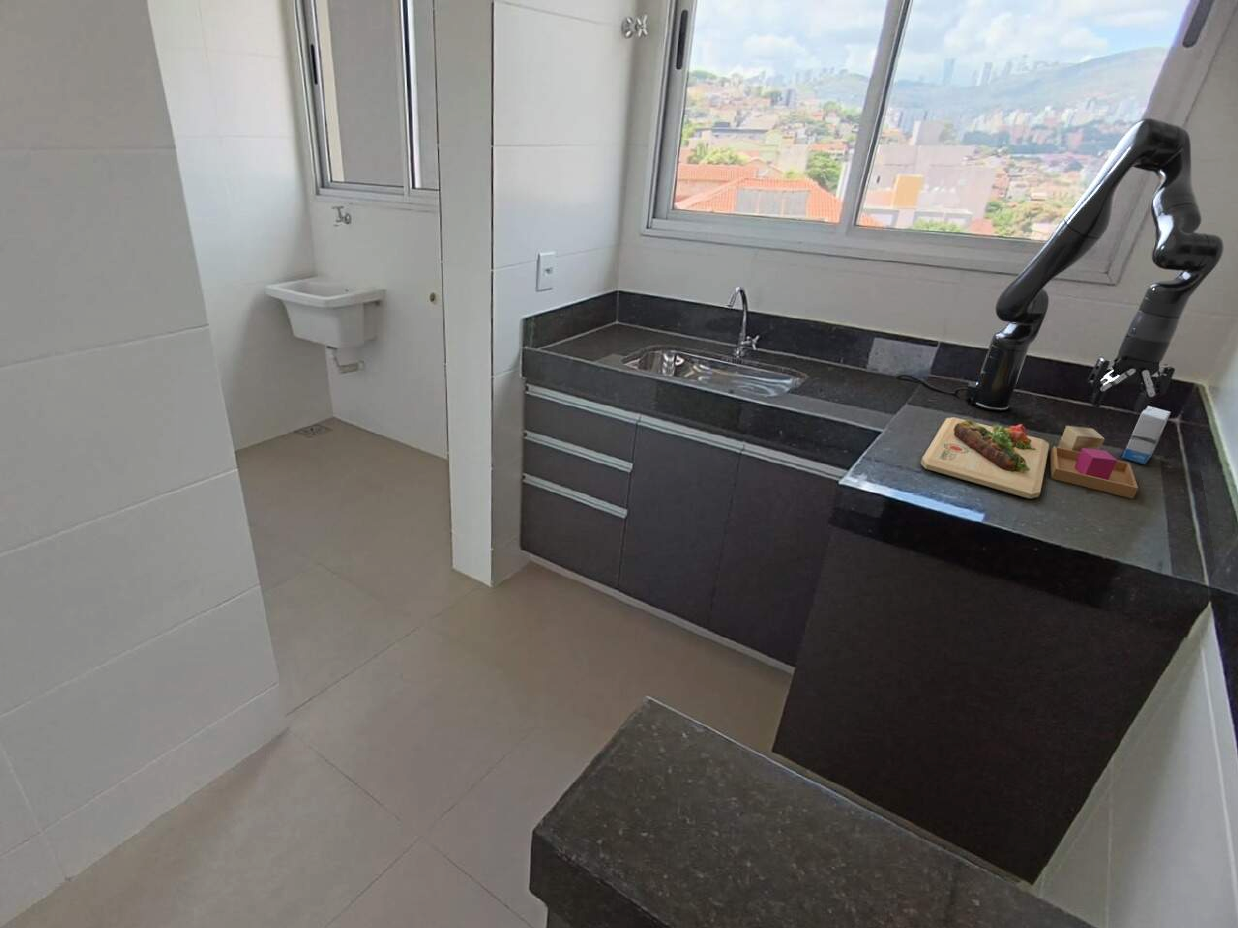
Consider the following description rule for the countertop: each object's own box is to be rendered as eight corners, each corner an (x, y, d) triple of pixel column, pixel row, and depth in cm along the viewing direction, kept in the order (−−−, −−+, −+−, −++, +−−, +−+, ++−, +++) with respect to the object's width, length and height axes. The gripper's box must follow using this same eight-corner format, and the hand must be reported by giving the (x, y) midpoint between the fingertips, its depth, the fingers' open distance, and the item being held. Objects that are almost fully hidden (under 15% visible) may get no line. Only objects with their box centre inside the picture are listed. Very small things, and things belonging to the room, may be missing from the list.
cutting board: (946, 421, 172) (954, 395, 169) (1047, 447, 161) (1058, 419, 158) (917, 468, 146) (927, 438, 142) (1036, 503, 135) (1049, 471, 131)
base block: (1067, 458, 156) (1077, 435, 153) (1057, 447, 161) (1066, 425, 159) (1094, 461, 155) (1105, 438, 153) (1083, 450, 161) (1092, 428, 158)
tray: (1051, 478, 146) (1055, 468, 144) (1049, 455, 157) (1053, 446, 156) (1133, 498, 139) (1138, 488, 138) (1125, 473, 151) (1130, 463, 149)
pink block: (1084, 477, 146) (1092, 457, 144) (1073, 467, 150) (1082, 447, 148) (1108, 480, 145) (1117, 460, 143) (1097, 470, 150) (1106, 450, 147)
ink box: (1144, 465, 155) (1166, 420, 150) (1119, 458, 158) (1140, 413, 153) (1151, 455, 160) (1173, 411, 155) (1127, 448, 164) (1147, 404, 158)
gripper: (1176, 334, 136) (1142, 406, 144) (1102, 326, 138) (1073, 398, 145) (1198, 344, 129) (1161, 419, 137) (1120, 336, 131) (1088, 411, 139)
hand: (1116, 408), depth 141 cm, fingers open, 8 cm apart
